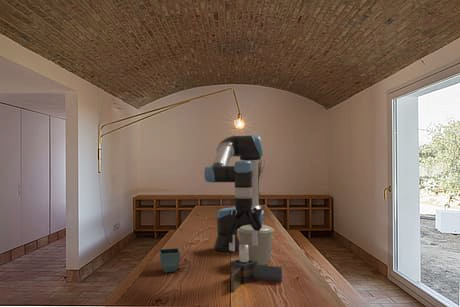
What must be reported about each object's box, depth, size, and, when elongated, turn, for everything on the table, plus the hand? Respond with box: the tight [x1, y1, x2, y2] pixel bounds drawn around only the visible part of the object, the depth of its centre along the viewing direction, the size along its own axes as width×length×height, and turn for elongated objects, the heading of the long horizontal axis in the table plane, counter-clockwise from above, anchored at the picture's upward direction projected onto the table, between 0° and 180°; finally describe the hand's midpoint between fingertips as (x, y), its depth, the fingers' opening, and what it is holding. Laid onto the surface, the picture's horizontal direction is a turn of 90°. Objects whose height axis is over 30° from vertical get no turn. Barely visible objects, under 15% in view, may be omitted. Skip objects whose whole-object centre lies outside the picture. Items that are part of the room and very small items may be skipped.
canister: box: [237, 224, 275, 266], centre depth 169 cm, size 18×18×21 cm
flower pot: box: [158, 247, 181, 273], centre depth 158 cm, size 9×9×9 cm
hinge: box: [230, 259, 283, 292], centre depth 141 cm, size 22×18×7 cm
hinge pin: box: [238, 244, 249, 264], centre depth 147 cm, size 4×4×14 cm
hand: (243, 247), depth 147 cm, fingers open, 13 cm apart
